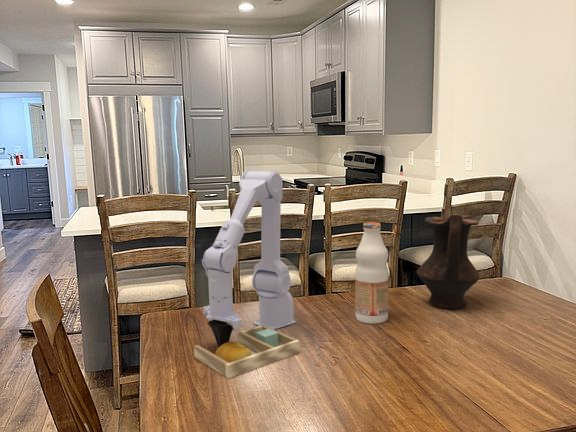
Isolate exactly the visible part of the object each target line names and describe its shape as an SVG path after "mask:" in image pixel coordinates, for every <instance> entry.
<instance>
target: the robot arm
mask: <svg viewBox="0 0 576 432" xmlns="http://www.w3.org/2000/svg"><path fill="white" fill-rule="evenodd" d="M238 184H239V185H238V186H239V195H238V197H237V200H236V203H235V205H234V208H233V210H232V214H231V217H230V219H227V220H225V221H224V222H223V223H222V225H221V228H220V229H219V232H218V234H217V236H216V238H215V240H214V242H213V244H212V246H210V247H209V248H208V249H206V250H205V251H204V253H203V255H202V256H203V257H202V259H201V264H202V266H203V268H204V270H205V275H206V277H207V280H208V281H207V282H208V299H209V300H208V301H209V305H204V306H203V307H202V313H203V314H204V315H205V319H206V320H208V321H207V325H208V327H209V328H210V329H211V332H212V333H213V336H214V339H215V343H216V346H217V349H218V348H219V347H220V346H221V345H222V344H224V343H226V342H230V340H231V335H232V332H233V330H237V329H239V328H242V327H243V324H242V323H243V320H242V318H240V317H239V316H238V315H237V314H236V312H235V311H234V299H233V273H232V272H233V270H234V268H235V267H236V265H237V258H238V257H237V256H238V253H239V252H238V251H239V250H238V248H239V245H240V243H241V241H242V239H243V236H244V234H245V227H244V224H245V221H246V220H247V218H248V217H249V215H250V212H251V211H252V209H253V207H254V206H255V204H256V202H258V203H259V204H260V205H261V226H260V227H261V237H260V239H261V241H260V242H261V243H260V245H261V246H260V247H261V250H260V252H261V254H260V255H261V257H260V258H261V259H260V261H259V262H257V263H256V264H255V265H254V266H253V267H254V269H253V274H252V278H251V283H252V287H253V289H254V290H255V291H256V295H258V304H259V305H258V308H259V309H258V311H259V320H254V321H253V324H254V325H256V326H257V327H258V326H261V325H265V326H267V327H269V328H272V329H274V330H276V329H281V328H283V327H286V326H287V327H288V326H289V325H294V324H296V322H297V321H296V320H295V319H294V318H295V317H294V315H295V314H294V312H295V311H294V298H293V296H292V294H291V292H289V290H290V288H291V284H292V282H291V281H292V279H291V277H290V272H289V271H290V269H289V267H288V265H287V264H286V263H284V262H283V261H282V260H281V206H282V205H281V203H282V200H283V194H284V193H283V191H284V190H283V185H284V184H283V178H282V176H281V175H280V173H279V172H278V171H276V170H270V171H269V170H267V171H266V170H249V169H248V170H245V171H244V172H243V173H242V174H241V178H240V180H239V183H238Z"/></svg>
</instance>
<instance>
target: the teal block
mask: <svg viewBox="0 0 576 432" xmlns="http://www.w3.org/2000/svg"><path fill="white" fill-rule="evenodd" d="M256 339H259V340H261V341H263V342H265V343H267V344H269V345H271V346H273V347H277V346H279V345H278V333H277V332H275V331H273V330H270V329H266V330H262V331H259V332H256Z"/></svg>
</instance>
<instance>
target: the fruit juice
mask: <svg viewBox="0 0 576 432" xmlns="http://www.w3.org/2000/svg"><path fill="white" fill-rule="evenodd" d="M362 227H363V234H362V237H361V239H360V242H359V244H358V247H357V248H356V251H355V260H356V262H357V264H356V268H355V275H354V277H355V278H354V279H355V281H354V282H355V283H354V285H355V289H354V291H355V292H354V294H355V296H354V297H355V300H354V301H355V302H354V303H355V304H354V305H355V306H354V308H355V310H354V311H355V313H354V314H355V319H356V320H357V321H359V322H361V323H363V324H372V325H373V324H374V325H375V324H383V323H385V322H387V320H388V319H389V269H388V266H387V262H388V260H389V259H388V258H389V251H388V248H387V247H386V245H385V243H384V240H383V237H382V235H381V230H382V226H381V223H380V222H373V221H371V222H363V225H362Z"/></svg>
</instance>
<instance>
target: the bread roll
mask: <svg viewBox="0 0 576 432" xmlns="http://www.w3.org/2000/svg"><path fill="white" fill-rule="evenodd" d="M214 355H216V356H218V357H220V358H221V359H223V360H225V361H227V362H228V363H231V362H233V361H236V360H239V359H242V358H245V357H248V356H251V355H252V350H251V349H249V348H247V347H245V346H243V345H242V344H240V343H239V341H229V342H226V343H224V344H222V345H221V346H220V347H219V348H218V347H217V349H216V350H215V351H214Z"/></svg>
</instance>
